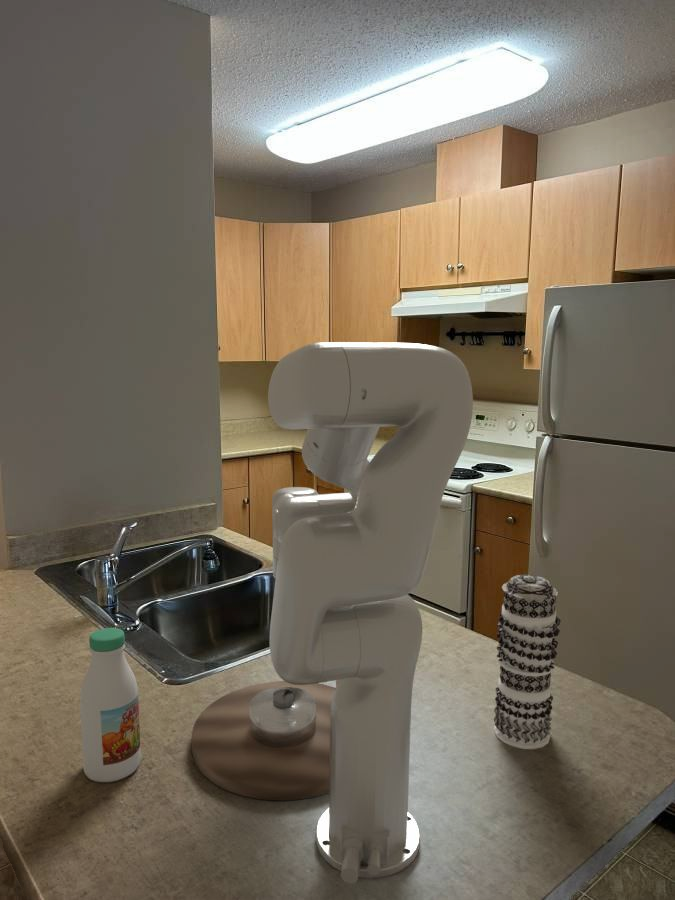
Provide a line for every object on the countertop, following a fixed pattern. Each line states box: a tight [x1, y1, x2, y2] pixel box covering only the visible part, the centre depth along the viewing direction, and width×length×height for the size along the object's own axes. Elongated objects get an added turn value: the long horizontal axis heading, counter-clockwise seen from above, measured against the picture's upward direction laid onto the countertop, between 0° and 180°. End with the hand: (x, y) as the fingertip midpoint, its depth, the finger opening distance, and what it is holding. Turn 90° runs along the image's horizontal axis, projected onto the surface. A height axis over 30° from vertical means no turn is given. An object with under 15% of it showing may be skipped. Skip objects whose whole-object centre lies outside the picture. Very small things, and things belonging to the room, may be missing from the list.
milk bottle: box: [80, 627, 142, 783], centre depth 93 cm, size 8×8×20 cm
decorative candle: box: [493, 574, 562, 750], centre depth 102 cm, size 9×9×25 cm
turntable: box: [191, 680, 339, 801], centre depth 101 cm, size 28×28×6 cm
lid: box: [250, 687, 316, 748], centre depth 100 cm, size 10×10×6 cm
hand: (298, 676), depth 107 cm, fingers closed
